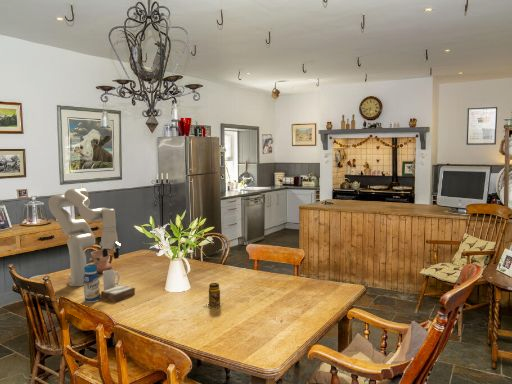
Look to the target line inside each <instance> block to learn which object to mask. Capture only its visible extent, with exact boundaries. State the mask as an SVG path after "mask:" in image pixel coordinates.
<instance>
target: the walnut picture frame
mask: <svg viewBox="0 0 512 384" xmlns="http://www.w3.org/2000/svg"><path fill="white" fill-rule="evenodd" d="M100 293H101V294H100V299H103V300H107V301H111V302H115V303H116V302H119V301H122V300H124V299H127V298H129V297H132V296H134V295H135V294H136V293H135V287H132V286H127V285H123V284H118V285H115V287H113V288H110V289H107V290H104V289H103V290H101V291H100Z"/></svg>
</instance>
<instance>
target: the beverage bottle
mask: <svg viewBox="0 0 512 384" xmlns="http://www.w3.org/2000/svg"><path fill="white" fill-rule="evenodd" d="M84 270H85V275H84V285H83V290H84V291H83V293H84V301H85V303H96V302H98V301H100V300H101V294H100V293H101V291H100V282H101V281H100V276H99V273H97V272H96V271H97V265H95V264H94V263H92V264H87V265H86V266H85V267H84Z"/></svg>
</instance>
